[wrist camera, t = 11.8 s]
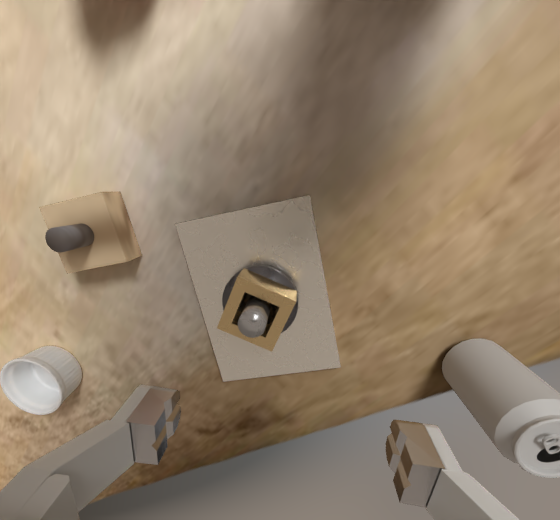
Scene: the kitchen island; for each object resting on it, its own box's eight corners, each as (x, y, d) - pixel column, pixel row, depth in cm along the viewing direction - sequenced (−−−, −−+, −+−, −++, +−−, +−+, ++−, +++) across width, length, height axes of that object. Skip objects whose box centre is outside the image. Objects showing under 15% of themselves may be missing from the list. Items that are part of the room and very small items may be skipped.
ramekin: (45, 394, 41) (16, 418, 37) (21, 345, 39) (-13, 363, 35) (95, 389, 40) (71, 412, 36) (73, 337, 38) (45, 356, 34)
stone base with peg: (178, 222, 32) (142, 232, 25) (309, 194, 30) (311, 196, 22) (225, 376, 37) (206, 422, 30) (339, 362, 35) (348, 407, 28)
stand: (62, 205, 33) (7, 209, 27) (120, 191, 31) (76, 192, 25) (87, 266, 34) (40, 282, 28) (142, 255, 33) (106, 270, 27)
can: (452, 394, 35) (527, 496, 23) (428, 350, 33) (494, 435, 22) (511, 371, 33) (622, 469, 22) (488, 324, 32) (593, 401, 20)
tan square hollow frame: (243, 267, 30) (237, 276, 27) (297, 290, 30) (296, 301, 27) (224, 315, 32) (216, 328, 29) (274, 337, 32) (272, 351, 29)
